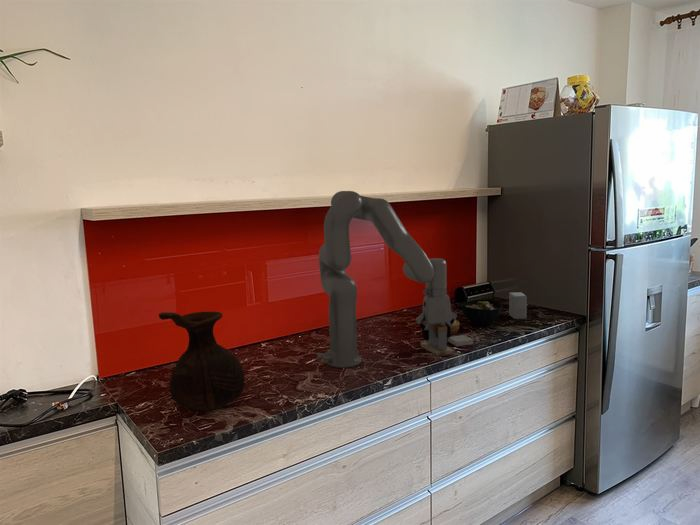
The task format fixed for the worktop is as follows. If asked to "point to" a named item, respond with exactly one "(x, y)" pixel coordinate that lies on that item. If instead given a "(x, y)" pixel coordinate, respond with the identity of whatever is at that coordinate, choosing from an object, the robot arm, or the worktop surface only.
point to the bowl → (481, 311)
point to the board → (436, 352)
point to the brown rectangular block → (438, 336)
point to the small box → (518, 305)
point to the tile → (460, 340)
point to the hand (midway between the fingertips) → (436, 337)
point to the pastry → (454, 327)
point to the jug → (204, 366)
